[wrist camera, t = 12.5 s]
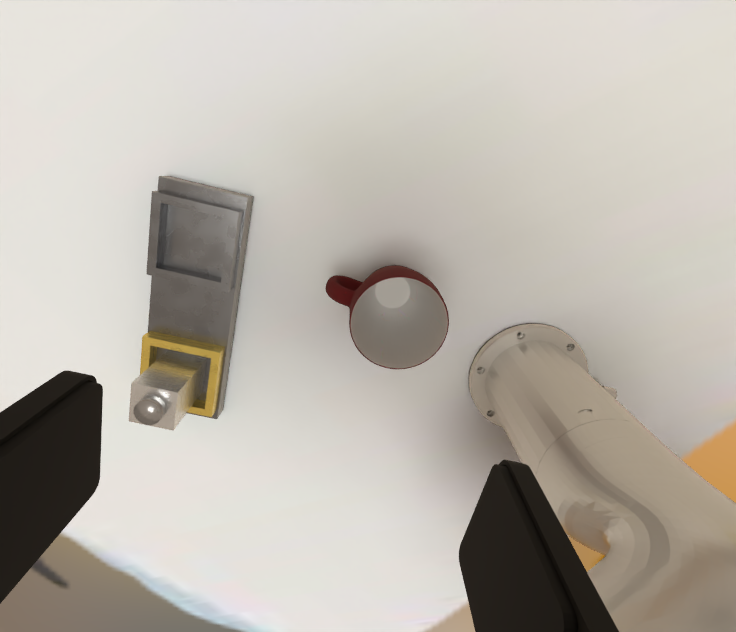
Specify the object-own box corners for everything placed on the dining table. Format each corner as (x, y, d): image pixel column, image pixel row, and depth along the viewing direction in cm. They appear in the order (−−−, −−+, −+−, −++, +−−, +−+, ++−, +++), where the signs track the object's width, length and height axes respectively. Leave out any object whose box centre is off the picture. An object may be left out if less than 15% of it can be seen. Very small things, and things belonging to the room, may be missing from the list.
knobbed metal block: (206, 358, 43) (172, 398, 36) (202, 391, 45) (168, 437, 37) (167, 350, 43) (125, 388, 36) (164, 383, 44) (122, 427, 37)
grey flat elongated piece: (253, 196, 40) (243, 198, 37) (223, 409, 48) (212, 427, 44) (169, 176, 39) (150, 176, 36) (152, 394, 47) (135, 411, 44)
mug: (323, 315, 44) (311, 355, 34) (336, 240, 41) (326, 261, 32) (421, 333, 45) (436, 377, 35) (439, 259, 42) (460, 285, 33)
